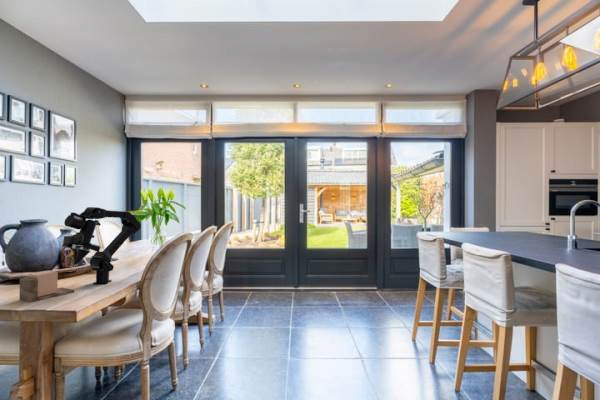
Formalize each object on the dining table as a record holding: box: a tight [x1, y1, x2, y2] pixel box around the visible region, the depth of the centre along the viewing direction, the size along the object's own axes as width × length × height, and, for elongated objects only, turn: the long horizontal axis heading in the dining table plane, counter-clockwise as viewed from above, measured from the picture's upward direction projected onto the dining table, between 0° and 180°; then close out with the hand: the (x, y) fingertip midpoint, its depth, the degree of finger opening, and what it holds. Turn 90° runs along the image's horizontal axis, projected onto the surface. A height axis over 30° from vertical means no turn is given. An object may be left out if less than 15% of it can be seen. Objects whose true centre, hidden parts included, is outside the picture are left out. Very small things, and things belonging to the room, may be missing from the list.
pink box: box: [28, 270, 59, 297], centre depth 145 cm, size 8×6×9 cm
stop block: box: [19, 276, 75, 303], centre depth 147 cm, size 18×9×9 cm, turn 157°
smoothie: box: [63, 248, 78, 267], centre depth 192 cm, size 8×8×20 cm
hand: (75, 264), depth 157 cm, fingers closed
